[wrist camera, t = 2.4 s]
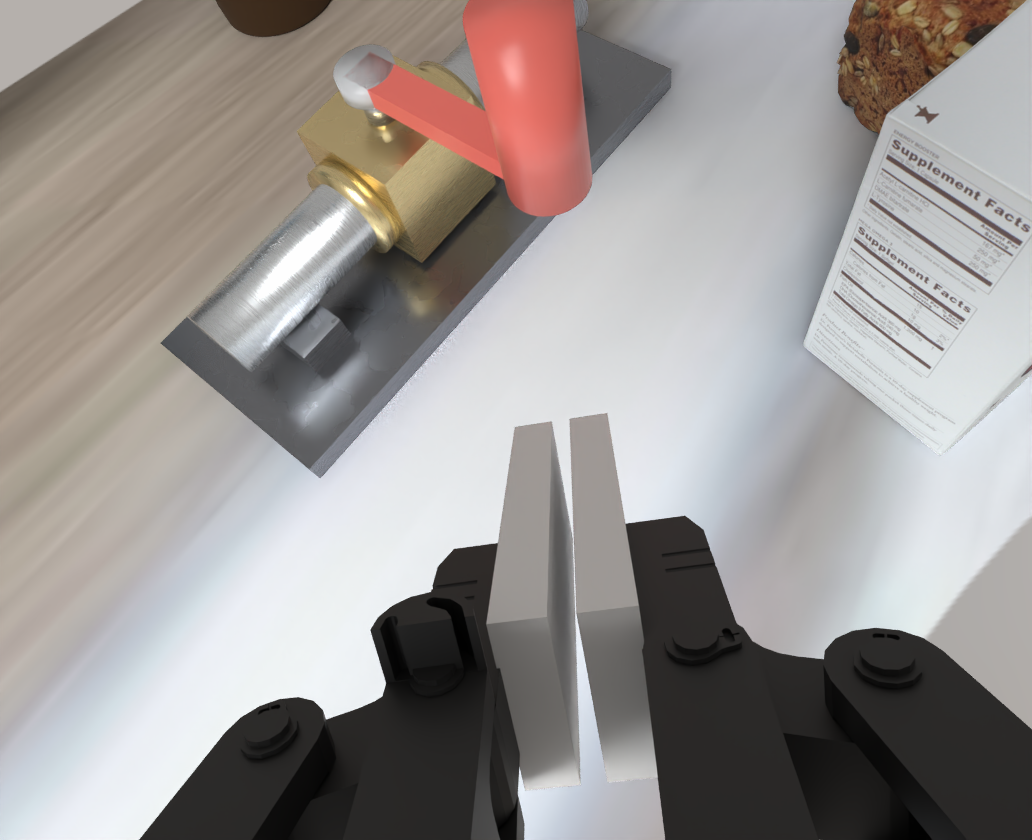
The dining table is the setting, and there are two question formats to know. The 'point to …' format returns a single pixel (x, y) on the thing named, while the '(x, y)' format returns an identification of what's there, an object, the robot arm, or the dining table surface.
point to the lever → (497, 100)
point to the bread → (907, 48)
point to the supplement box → (941, 248)
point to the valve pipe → (381, 257)
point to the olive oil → (270, 15)
